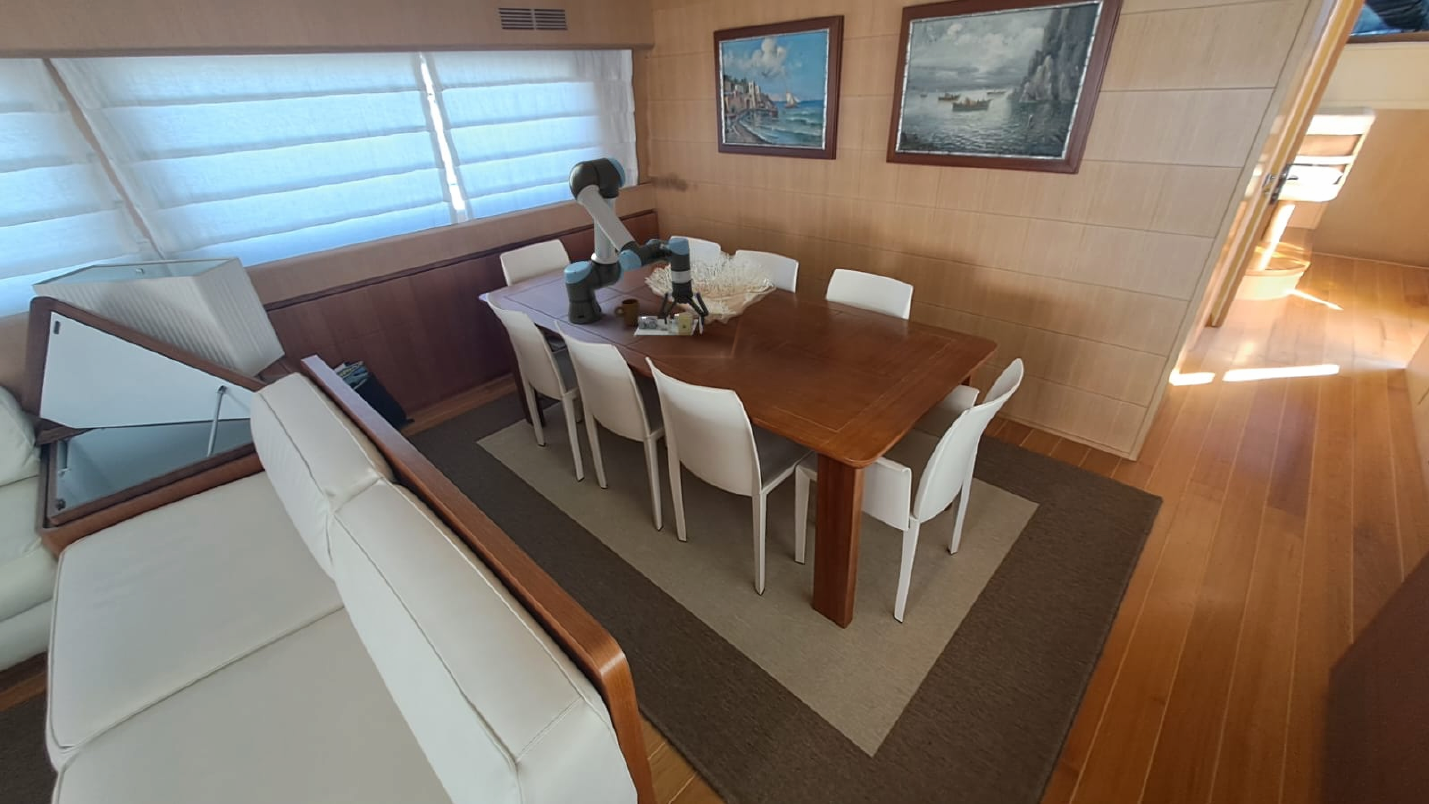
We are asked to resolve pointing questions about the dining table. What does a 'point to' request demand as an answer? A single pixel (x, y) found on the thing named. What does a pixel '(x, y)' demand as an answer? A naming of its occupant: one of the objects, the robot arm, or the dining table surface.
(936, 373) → the dining table surface
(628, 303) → the mug
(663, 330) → the rig board
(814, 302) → the dining table surface
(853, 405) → the dining table surface
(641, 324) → the grey mechanical block
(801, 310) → the dining table surface
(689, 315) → the coupler
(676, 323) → the grey metal block
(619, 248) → the robot arm
